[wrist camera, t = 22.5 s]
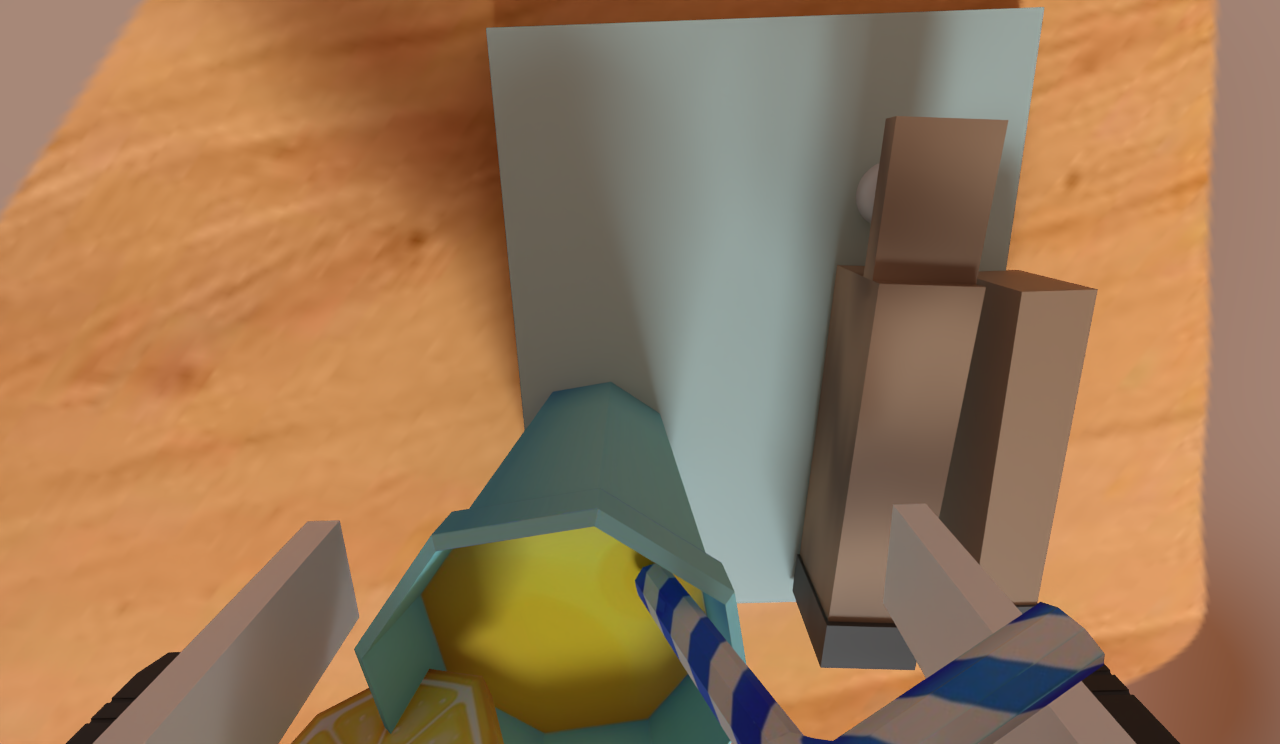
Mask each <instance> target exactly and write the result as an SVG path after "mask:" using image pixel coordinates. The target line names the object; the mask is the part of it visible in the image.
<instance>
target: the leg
mask: <svg viewBox="0 0 1280 744" xmlns="http://www.w3.org/2000/svg"><path fill="white" fill-rule="evenodd" d="M1007 125H1008V120H993V119H965V118H937V117H909V116H895V117H891V118H886V121H885V128H884V135H883V142H882V149H881V156H880V163H879V170H878V177H877V184H876V191H875V198H874V205H873V212H872V219H871V226H870V233H869V240H868V247H867V254H866V261H865V266H850V265H837V270H836V277H835V285H834V293H833V301H832V308H831V316H830V324H829V332H828V339H827V347H826V355H825V363H824V370H823V378H822V386H821V394H820V401H819V409H818V417H817V425H816V432H815V440H814V448H813V456H812V463H811V471H810V479H809V487H808V494H807V502H806V510H805V518H804V525H803V533H802V541H801V548H800V554H797V559H796V566H795V574H794V582H793V590H792V591H793V594H794V596H795V599H796V602H797V605H798V607H799V610H800V613H801V615H802V618H803V621H804V624H805V626H806V629H807V632H808V635H809V637H810V640H811V643H812V645H813V648H814V651H815V654H816V656H817V659H818V662H819V664H820V667H823V668H859V669H896V670H915V666H916V660H915V658H914V656H913V654H912V653H911V651H910V649H909V647H908V646H907V644H906V642H905V640H904V639H903V637H902V635H901V633H900V632H899V630H898V628H897V626H896V625H895V623H894V621H893V619H892V618H891V616H890V614H889V612H888V611H887V609H886V607H885V605H884V604H883V598H884V589H885V579H886V569H887V560H888V550H889V540H890V530H891V521H892V511H893V505H896V504H927V506H928V507H929V508H930V509H931V510H932V511H933V512H934V514H935V515H936V516H937V517H938V518H939V515H940V510H941V505H942V500H943V496H944V491H945V486H946V481H947V476H948V471H949V466H950V461H951V456H952V451H953V446H954V442H955V437H956V432H957V427H958V422H959V417H960V412H961V407H962V402H963V397H964V393H965V388H966V383H967V378H968V373H969V368H970V363H971V358H972V353H973V348H974V343H975V339H976V334H977V329H978V324H979V319H980V314H981V309H982V304H983V299H984V294H985V289H986V287H984V286H980V285H977V284H976V282H977V276H978V271H979V266H980V261H981V256H982V251H983V246H984V241H985V236H986V231H987V226H988V221H989V216H990V211H991V206H992V201H993V196H994V191H995V186H996V181H997V176H998V171H999V166H1000V161H1001V156H1002V151H1003V146H1004V141H1005V136H1006V130H1007Z"/></svg>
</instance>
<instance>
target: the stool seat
mask: <svg viewBox="0 0 1280 744" xmlns="http://www.w3.org/2000/svg"><path fill="white" fill-rule="evenodd" d="M1043 13H1044V7H1037V8H1010V9H983V10H956V11H929V12H902V13H875V14H847V15H820V16H793V17H766V18H739V19H712V20H685V21H657V22H630V23H603V24H576V25H549V26H522V27H495V28H486V34H487V44H488V54H489V65H490V75H491V86H492V96H493V106H494V117H495V127H496V137H497V148H498V158H499V169H500V179H501V189H502V200H503V210H504V220H505V231H506V241H507V251H508V262H509V272H510V283H511V293H512V303H513V314H514V324H515V334H516V345H517V355H518V366H519V376H520V386H521V397H522V407H523V417H524V428H525V430H526V428H527V427H528V426H529V424H530V423H531V421H532V420H533V419H534V417H535V416H536V414H537V413H538V412H539V410H540V409H541V407H542V406H543V405H544V403H545V402H546V400H547V399H548V398H549V396H550V395H551V393H552V392H554V391H559V390H565V389H571V388H577V387H583V386H589V385H594V384H600V383H606V382H612V383H614V384H616V385H617V386H619V387H620V388H622V389H623V390H625V391H626V392H628V393H629V394H631V395H632V396H634V397H635V398H637V399H639V400H640V401H642V402H643V403H645V404H646V405H648V406H649V407H651V408H652V409H654V410H655V411H657V412H658V413H660V415H661V418H662V421H663V424H664V427H665V430H666V434H667V437H668V440H669V443H670V446H671V449H672V452H673V455H674V458H675V461H676V464H677V467H678V470H679V473H680V476H681V479H682V482H683V485H684V488H685V492H686V495H687V498H688V501H689V504H690V507H691V510H692V513H693V516H694V519H695V522H696V525H697V528H698V531H699V534H700V537H701V540H702V543H703V546H704V550H705V553H707V554H708V555H710V556H712V557H713V558H715V559H717V560H718V561H720V562H721V563H722V564H723V566H724V569H725V571H726V573H727V575H728V578H729V580H730V582H731V584H732V587H733V589H734V591H735V597H736V603H764V602H796V599H795V596H794V594H793V591H792V590H793V582H794V574H795V566H796V559H797V554H800V548H801V541H802V533H803V525H804V518H805V510H806V502H807V494H808V487H809V479H810V471H811V463H812V456H813V448H814V440H815V432H816V425H817V417H818V409H819V401H820V394H821V386H822V378H823V370H824V363H825V355H826V347H827V339H828V332H829V324H830V316H831V308H832V301H833V293H834V285H835V277H836V270H837V265H850V266H865V261H866V254H867V247H868V240H869V233H870V226H871V219H872V212H873V205H874V198H875V191H876V184H877V177H878V170H879V163H880V156H881V149H882V142H883V135H884V128H885V121H886V118H891V117H895V116H909V117H937V118H965V119H993V120H1008V125H1007V130H1006V136H1005V141H1004V146H1003V151H1002V156H1001V161H1000V166H999V171H998V176H997V181H996V186H995V191H994V196H993V201H992V206H991V211H990V216H989V221H988V226H987V231H986V236H985V241H984V246H983V251H982V256H981V261H980V266H979V271H978V276H977V282H976V284H977V285H980V286H984V287H986V289H985V294H984V299H983V304H982V309H981V314H980V319H979V324H978V329H977V334H976V339H975V343H974V348H973V353H972V358H971V363H970V368H969V373H968V378H967V383H966V388H965V393H964V397H963V402H962V407H961V412H960V417H959V422H958V427H957V432H956V437H955V442H954V446H953V451H952V456H951V461H950V466H949V471H948V476H947V481H946V486H945V491H944V496H943V500H942V505H941V510H940V515H939V519H940V520H941V522H942V523H943V524H944V525H945V526H946V527H947V528H948V530H949V531H950V532H951V533H952V534H953V535H954V536H955V538H956V539H957V540H958V541H959V542H960V543H961V544H962V546H963V547H964V548H965V549H966V550H967V551H968V552H969V554H970V555H971V556H972V557H973V558H974V559H975V560H976V561H977V563H978V564H979V565H980V566H981V567H982V568H983V569H984V571H985V572H986V573H987V574H988V575H989V576H990V577H991V579H992V580H993V581H994V582H995V583H996V584H997V585H998V587H999V588H1000V589H1001V590H1002V591H1003V592H1004V593H1005V595H1006V596H1007V597H1008V598H1009V599H1010V600H1011V601H1012V603H1013V604H1014V605H1015V606H1016V607H1017V608H1018V609H1019V611H1020V612H1021V613H1022V614H1023V613H1025V612H1026V611H1028V610H1029V609H1031V608H1032V607H1034V606H1035V605H1037V604H1038V603H1037V601H1038V596H1039V591H1040V585H1041V580H1042V575H1043V570H1044V565H1045V559H1046V554H1047V549H1048V544H1049V539H1050V534H1051V528H1052V523H1053V518H1054V513H1055V508H1056V502H1057V497H1058V492H1059V487H1060V482H1061V477H1062V471H1063V466H1064V461H1065V456H1066V451H1067V445H1068V440H1069V435H1070V430H1071V425H1072V419H1073V414H1074V409H1075V404H1076V399H1077V394H1078V388H1079V383H1080V378H1081V373H1082V368H1083V362H1084V357H1085V352H1086V347H1087V342H1088V337H1089V331H1090V326H1091V321H1092V316H1093V311H1094V305H1095V300H1096V295H1097V290H1098V289H1094V288H1089V287H1085V286H1081V285H1077V284H1073V283H1069V282H1065V281H1061V280H1057V279H1053V278H1048V277H1044V276H1040V275H1036V274H1032V273H1028V272H1024V271H1020V270H1007V271H1006V266H1007V259H1008V252H1009V245H1010V239H1011V232H1012V225H1013V218H1014V211H1015V204H1016V198H1017V191H1018V184H1019V177H1020V170H1021V163H1022V157H1023V150H1024V143H1025V136H1026V129H1027V122H1028V116H1029V109H1030V102H1031V95H1032V88H1033V81H1034V75H1035V68H1036V61H1037V54H1038V47H1039V40H1040V34H1041V27H1042V20H1043Z"/></svg>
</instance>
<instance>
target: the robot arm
mask: <svg viewBox="0 0 1280 744" xmlns="http://www.w3.org/2000/svg"><path fill="white" fill-rule="evenodd" d="M883 604H884V605H885V607H886V609H887V611H888V612H889V614H890V616H891V618H892V619H893V621H894V623H895V625H896V626H897V628H898V630H899V632H900V633H901V635H902V637H903V639H904V640H905V642H906V644H907V646H908V647H909V649H910V651H911V653H912V654H913V656H914V658H915V660H916V661H917V663H918V665H919V667H920V668H921V670H922V672H923V674H924V675H925V677H926V678H928V677H929V676H931V675H932V674H934V673H935V672H937V671H938V670H940V669H941V668H943V667H944V666H946V665H947V664H949V663H950V662H952V661H953V660H955V659H956V658H958V657H959V656H961V655H962V654H964V653H965V652H967V651H968V650H970V649H971V648H973V647H974V646H976V645H977V644H978V643H980V642H981V641H983V640H984V639H986V638H987V637H989V636H990V635H992V634H993V633H995V632H996V631H998V630H999V629H1001V628H1002V627H1004V626H1005V625H1007V624H1008V623H1010V622H1011V621H1013V620H1014V619H1016V618H1017V617H1019V616H1020V615H1022V613H1021V612H1020V611H1019V609H1018V608H1017V607H1016V606H1015V605H1014V604H1013V603H1012V601H1011V600H1010V599H1009V598H1008V597H1007V596H1006V595H1005V593H1004V592H1003V591H1002V590H1001V589H1000V588H999V587H998V585H997V584H996V583H995V582H994V581H993V580H992V579H991V577H990V576H989V575H988V574H987V573H986V572H985V571H984V569H983V568H982V567H981V566H980V565H979V564H978V563H977V561H976V560H975V559H974V558H973V557H972V556H971V555H970V554H969V552H968V551H967V550H966V549H965V548H964V547H963V546H962V544H961V543H960V542H959V541H958V540H957V539H956V538H955V536H954V535H953V534H952V533H951V532H950V531H949V530H948V528H947V527H946V526H945V525H944V524H943V523H942V522H941V520H940V519H939V518H938V517H937V516H936V515H935V514H934V512H933V511H932V510H931V509H930V508H929V507H928V506H927V504H896V505H893V511H892V521H891V530H890V540H889V550H888V560H887V569H886V579H885V589H884V598H883ZM358 618H359V613H358V608H357V603H356V598H355V593H354V588H353V583H352V579H351V574H350V569H349V564H348V559H347V554H346V549H345V544H344V539H343V535H342V530H341V525H340V521H308V522H307V523H306V524H305V525H304V526H303V527H302V528H301V529H300V530H299V531H298V532H297V533H296V534H295V535H294V536H293V537H292V538H291V539H290V540H289V541H288V542H287V543H286V544H285V545H284V546H283V547H282V548H281V549H280V551H279V552H278V553H277V554H276V555H275V556H274V557H273V558H272V559H271V560H270V561H269V562H268V563H267V564H266V565H265V566H264V567H263V568H262V569H261V570H260V571H259V572H258V573H257V574H256V575H255V576H254V577H253V578H252V579H251V580H250V582H249V583H248V584H247V585H246V586H245V587H244V588H243V589H242V590H241V591H240V592H239V593H238V594H237V595H236V596H235V597H234V598H233V599H232V600H231V601H230V602H229V603H228V604H227V605H226V606H225V607H224V608H223V609H222V610H221V611H220V612H219V614H218V615H217V616H216V617H215V618H214V619H213V620H212V621H211V622H210V623H209V624H208V625H207V626H206V627H205V628H204V629H203V630H202V631H201V632H200V633H199V634H198V635H197V636H196V637H195V638H194V639H193V640H192V641H191V642H190V643H189V645H188V646H187V647H186V648H185V649H184V650H183V651H182V652H171V653H167V654H166V655H164V656H163V657H161V658H160V659H158V660H157V661H155V662H154V663H152V664H151V665H149V666H148V667H146V668H145V669H143V670H142V671H140V672H138V673H137V674H136V675H135V676H134V677H133V678H132V679H131V680H130V681H129V682H128V683H127V684H126V685H125V686H124V687H123V688H122V689H121V690H120V691H119V692H118V693H117V694H116V695H115V696H114V697H112V701H111V703H106V704H105V705H104V706H103V707H102V708H101V709H100V710H99V711H98V712H97V713H96V714H95V715H94V716H93V717H92V718H91V722H90V723H89V724H85V725H84V726H83V727H82V728H81V729H80V730H79V731H78V732H77V733H76V734H75V735H74V736H73V737H72V738H71V739H70V740H69V741H68V742H67V743H66V744H278V743H279V742H280V740H281V739H282V737H283V736H284V734H285V733H286V731H287V729H288V728H289V726H290V725H291V723H292V722H293V720H294V718H295V717H296V715H297V714H298V712H299V711H300V709H301V707H302V706H303V704H304V703H305V701H306V700H307V698H308V697H309V695H310V693H311V692H312V690H313V689H314V687H315V686H316V684H317V682H318V681H319V679H320V678H321V676H322V675H323V673H324V672H325V670H326V668H327V667H328V665H329V664H330V662H331V661H332V659H333V657H334V656H335V654H336V653H337V651H338V650H339V648H340V646H341V645H342V643H343V642H344V640H345V639H346V637H347V636H348V634H349V632H350V631H351V629H352V628H353V626H354V625H355V623H356V621H357V620H358ZM993 744H1180V743H1179V742H1178V741H1177V740H1176V739H1175V738H1174V737H1173V736H1172V735H1171V733H1170V732H1168V730H1167V729H1166V728H1165V727H1164V726H1163V725H1162V724H1161V723H1160V722H1159V721H1158V720H1157V719H1156V718H1155V717H1154V716H1153V715H1152V714H1151V713H1150V712H1149V710H1148V709H1147V708H1146V707H1145V706H1144V705H1143V704H1142V703H1141V702H1140V701H1139V700H1138V699H1137V698H1136V697H1135V696H1134V695H1130V693H1129V689H1127V687H1126V686H1125V685H1124V684H1123V683H1122V682H1121V681H1120V680H1119V679H1118V678H1117V677H1116V676H1115V675H1111V673H1110V670H1109V669H1108V667H1107V666H1106V665H1105V664H1104V665H1103V666H1102V667H1100V668H1099V669H1097V670H1096V671H1095V672H1093V673H1092V674H1090V675H1089V676H1088V677H1086V678H1085V679H1083V680H1082V681H1081V682H1079V683H1078V684H1076V685H1075V686H1074V687H1072V688H1071V689H1069V690H1068V691H1067V692H1065V693H1064V694H1062V695H1061V696H1060V697H1058V698H1057V699H1055V700H1054V701H1052V702H1051V703H1050V704H1048V705H1047V706H1045V707H1044V708H1043V709H1041V710H1040V711H1038V712H1037V713H1036V714H1034V715H1033V716H1031V717H1030V718H1029V719H1027V720H1026V721H1024V722H1023V723H1022V724H1020V725H1019V726H1017V727H1016V728H1015V729H1013V730H1012V731H1010V732H1009V733H1008V734H1006V735H1005V736H1003V737H1002V738H1001V739H999V740H998V741H996V742H995V743H993Z"/></svg>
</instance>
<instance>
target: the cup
mask: <svg viewBox="0 0 1280 744" xmlns="http://www.w3.org/2000/svg"><path fill="white" fill-rule="evenodd" d="M354 650H355V653H356V655H357V658H358V660H359V663H360V666H361V668H362V671H363V673H364V676H365V678H366V681H367V683H368V686H369V688H368V689H366V690H364V691H362V692H360V693H358V694H356V695H354V696H352V697H350V698H348V699H346V700H344V701H343V702H341V703H339V704H337V705H335V706H333V707H331V708H329V709H327V710H325V711H323V712H321V713H319V714H317V715H316V716H315V718H314V719H313V720H312V721H311V722H310V723H309V724H308V725H307V726H306V728H305V729H304V730H303V731H302V732H301V733H300V734H299V735H298V737H297V738H296V739H295V740H294V741H293V742H292V743H291V744H731V743H732V744H993V743H995V742H996V741H998V740H999V739H1001V738H1002V737H1003V736H1005V735H1006V734H1008V733H1009V732H1010V731H1012V730H1013V729H1015V728H1016V727H1017V726H1019V725H1020V724H1022V723H1023V722H1024V721H1026V720H1027V719H1029V718H1030V717H1031V716H1033V715H1034V714H1036V713H1037V712H1038V711H1040V710H1041V709H1043V708H1044V707H1045V706H1047V705H1048V704H1050V703H1051V702H1052V701H1054V700H1055V699H1057V698H1058V697H1060V696H1061V695H1062V694H1064V693H1065V692H1067V691H1068V690H1069V689H1071V688H1072V687H1074V686H1075V685H1076V684H1078V683H1079V682H1081V681H1082V680H1083V679H1085V678H1086V677H1088V676H1089V675H1090V674H1092V673H1093V672H1095V671H1096V670H1097V669H1099V668H1100V667H1102V666H1103V665H1104V656H1105V654H1104V652H1103V651H1102V650H1101V649H1100V647H1099V646H1098V645H1097V644H1096V642H1095V641H1094V640H1093V638H1092V637H1091V636H1090V635H1089V633H1088V632H1087V631H1086V630H1085V629H1084V628H1083V627H1082V626H1081V625H1079V624H1078V623H1077V622H1075V621H1074V620H1073V619H1072V618H1070V617H1069V616H1068V615H1067V614H1065V613H1064V612H1063V611H1062V610H1060V609H1059V608H1058V607H1055V606H1052V605H1049V604H1045V603H1042V602H1040V603H1038V604H1037V605H1035V606H1034V607H1032V608H1031V609H1029V610H1028V611H1026V612H1025V613H1023V614H1022V615H1020V616H1019V617H1017V618H1016V619H1014V620H1013V621H1011V622H1010V623H1008V624H1007V625H1005V626H1004V627H1002V628H1001V629H999V630H998V631H996V632H995V633H993V634H992V635H990V636H989V637H987V638H986V639H984V640H983V641H981V642H980V643H978V644H977V645H976V646H974V647H973V648H971V649H970V650H968V651H967V652H965V653H964V654H962V655H961V656H959V657H958V658H956V659H955V660H953V661H952V662H950V663H949V664H947V665H946V666H944V667H943V668H941V669H940V670H938V671H937V672H935V673H934V674H932V675H931V676H929V677H928V678H926V679H925V680H923V681H922V682H920V683H919V684H917V685H916V686H914V687H913V688H911V689H910V690H908V691H907V692H905V693H904V694H902V695H901V696H899V697H898V698H896V699H895V700H893V701H892V702H891V703H889V704H888V705H886V706H885V707H883V708H882V709H880V710H879V711H877V712H876V713H874V714H873V715H871V716H870V717H868V718H867V719H865V720H864V721H862V722H861V723H859V724H858V725H856V726H855V727H853V728H852V729H850V730H849V731H847V732H846V733H844V734H843V735H841V736H840V737H838V738H837V739H835V740H834V741H828V740H821V739H814V738H810V737H807V736H804V735H803V734H802V733H801V732H800V730H799V729H798V728H797V727H796V725H795V724H794V723H793V722H792V720H791V719H790V718H789V717H788V716H787V714H786V713H785V712H784V711H783V709H782V708H781V707H780V706H779V704H778V703H777V702H776V701H775V700H774V698H773V697H772V696H771V695H770V693H769V692H768V691H767V690H766V688H765V687H764V686H763V685H762V683H761V682H760V681H759V680H758V679H757V677H756V676H755V675H754V674H753V672H752V671H751V670H750V669H749V667H748V666H747V665H746V660H745V654H744V647H743V641H742V635H741V628H740V622H739V616H738V610H737V603H736V597H735V591H734V589H733V587H732V584H731V582H730V580H729V578H728V575H727V573H726V571H725V569H724V566H723V564H722V563H721V562H720V561H718V560H717V559H715V558H713V557H712V556H710V555H708V554H707V553H705V550H704V546H703V543H702V540H701V537H700V534H699V531H698V528H697V525H696V522H695V519H694V516H693V513H692V510H691V507H690V504H689V501H688V498H687V495H686V492H685V488H684V485H683V482H682V479H681V476H680V473H679V470H678V467H677V464H676V461H675V458H674V455H673V452H672V449H671V446H670V443H669V440H668V437H667V434H666V430H665V427H664V424H663V421H662V418H661V415H660V413H658V412H657V411H655V410H654V409H652V408H651V407H649V406H648V405H646V404H645V403H643V402H642V401H640V400H639V399H637V398H635V397H634V396H632V395H631V394H629V393H628V392H626V391H625V390H623V389H622V388H620V387H619V386H617V385H616V384H614V383H612V382H606V383H600V384H594V385H589V386H583V387H577V388H571V389H565V390H559V391H554V392H552V393H551V395H550V396H549V398H548V399H547V400H546V402H545V403H544V405H543V406H542V407H541V409H540V410H539V412H538V413H537V414H536V416H535V417H534V419H533V420H532V421H531V423H530V424H529V426H528V427H527V428H526V430H525V431H524V433H523V434H522V435H521V437H520V438H519V440H518V441H517V442H516V444H515V445H514V447H513V448H512V449H511V451H510V452H509V454H508V455H507V457H506V458H505V459H504V461H503V462H502V464H501V465H500V466H499V468H498V469H497V471H496V472H495V473H494V475H493V476H492V478H491V479H490V480H489V482H488V483H487V485H486V486H485V487H484V489H483V490H482V492H481V493H480V494H479V496H478V497H477V499H476V500H475V501H474V503H473V504H472V506H471V507H470V508H469V509H466V510H460V511H454V512H451V513H450V515H449V516H448V517H447V518H446V519H445V520H444V521H443V523H442V524H441V525H440V526H439V527H438V528H437V529H436V530H435V532H434V533H433V534H432V535H431V536H430V538H429V539H428V541H427V542H426V544H425V545H424V547H423V548H422V550H421V551H420V553H419V554H418V556H417V557H416V559H415V560H414V561H413V563H412V564H411V566H410V567H409V569H408V570H407V572H406V573H405V575H404V576H403V578H402V579H401V581H400V582H399V584H398V585H397V587H396V588H395V590H394V591H393V592H392V594H391V595H390V597H389V598H388V600H387V601H386V603H385V604H384V606H383V607H382V609H381V610H380V612H379V613H378V615H377V616H376V618H375V619H374V620H373V622H372V623H371V625H370V626H369V628H368V629H367V631H366V632H365V634H364V635H363V637H362V638H361V640H360V641H359V643H358V644H357V646H356V647H355V649H354Z"/></svg>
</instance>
